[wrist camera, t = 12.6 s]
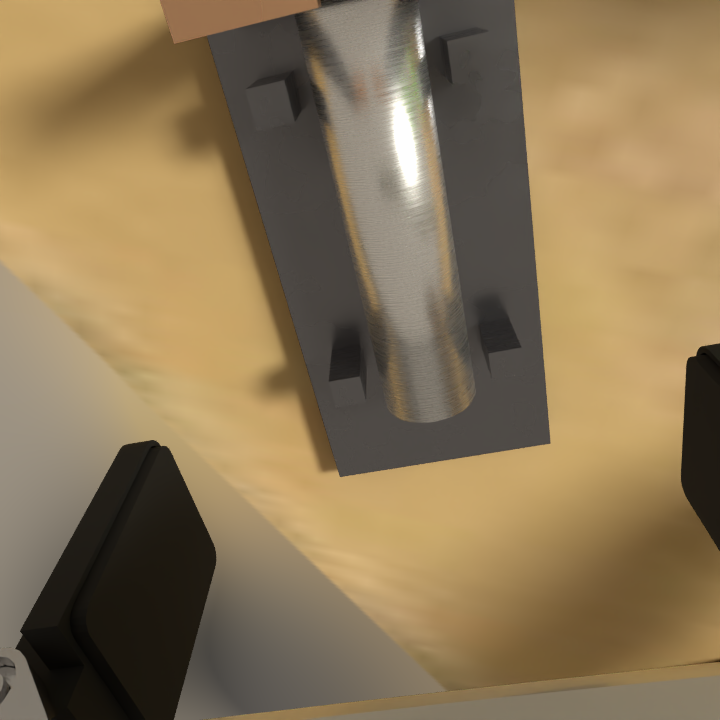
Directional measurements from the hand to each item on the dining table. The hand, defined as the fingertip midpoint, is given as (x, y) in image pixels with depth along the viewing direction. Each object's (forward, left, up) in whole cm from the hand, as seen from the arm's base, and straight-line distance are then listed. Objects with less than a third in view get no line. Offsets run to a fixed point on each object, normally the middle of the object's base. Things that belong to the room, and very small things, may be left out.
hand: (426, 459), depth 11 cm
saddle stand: (0, +2, -20) cm, 20 cm away
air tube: (0, 0, -19) cm, 19 cm away
